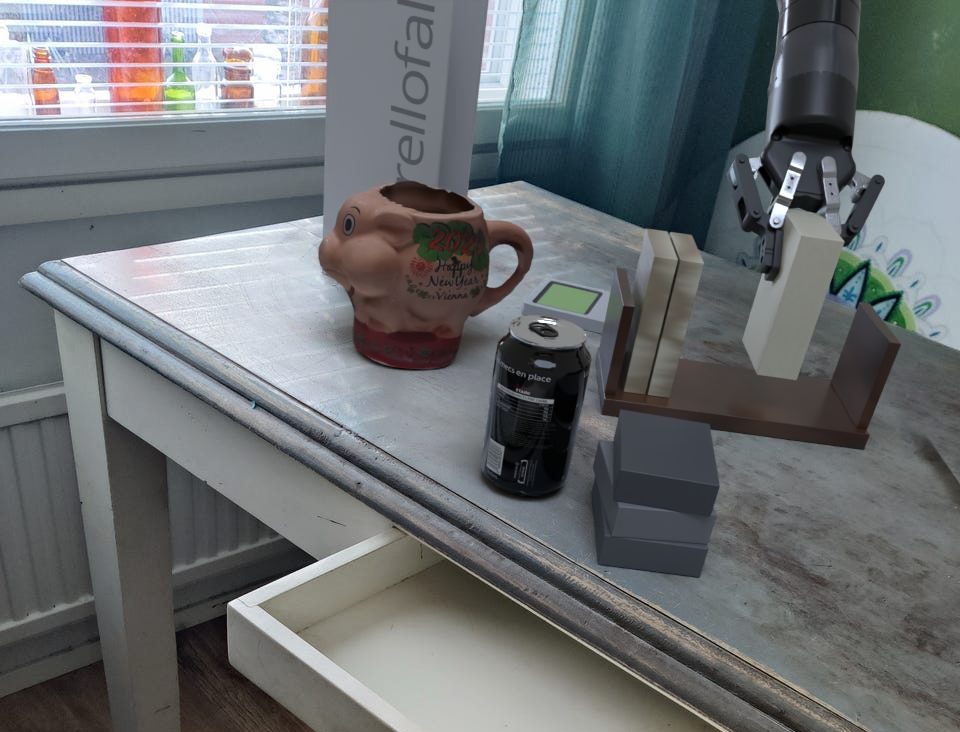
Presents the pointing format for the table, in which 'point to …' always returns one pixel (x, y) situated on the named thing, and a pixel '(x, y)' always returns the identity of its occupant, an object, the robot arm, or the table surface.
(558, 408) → the beverage can
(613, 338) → the book rack
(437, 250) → the pig-shaped ceramic mug
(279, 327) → the table surface
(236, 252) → the table surface
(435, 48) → the white lettered box
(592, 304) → the handheld gaming console
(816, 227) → the tall beige pillar
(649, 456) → the stacked grey blocks
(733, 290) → the table surface
